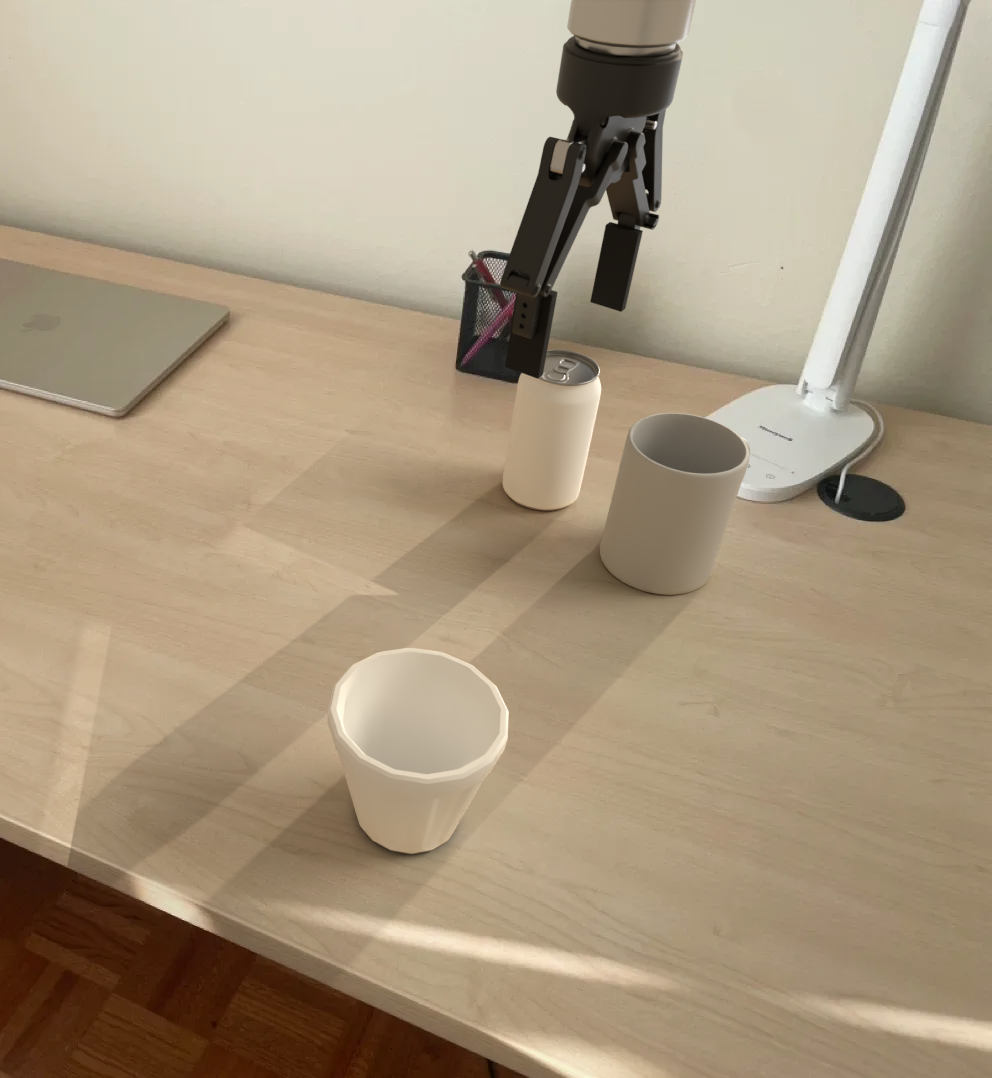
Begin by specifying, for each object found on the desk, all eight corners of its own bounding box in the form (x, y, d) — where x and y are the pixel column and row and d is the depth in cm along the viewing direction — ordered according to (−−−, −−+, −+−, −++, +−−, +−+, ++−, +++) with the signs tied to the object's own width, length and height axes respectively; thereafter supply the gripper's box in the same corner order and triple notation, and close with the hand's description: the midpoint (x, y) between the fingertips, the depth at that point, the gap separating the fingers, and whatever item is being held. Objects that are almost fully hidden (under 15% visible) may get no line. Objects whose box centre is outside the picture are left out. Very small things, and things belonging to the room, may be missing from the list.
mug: (659, 611, 78) (695, 490, 71) (575, 550, 84) (601, 432, 77) (764, 555, 83) (807, 437, 76) (678, 501, 89) (712, 387, 82)
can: (488, 496, 89) (507, 371, 82) (520, 460, 94) (541, 338, 86) (560, 522, 87) (587, 395, 79) (590, 484, 91) (618, 360, 83)
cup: (502, 886, 60) (525, 782, 54) (326, 885, 60) (331, 781, 54) (476, 749, 68) (494, 645, 62) (321, 749, 68) (325, 645, 62)
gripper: (651, -3, 77) (596, 269, 91) (471, 72, 62) (437, 384, 76) (753, 12, 74) (681, 294, 87) (588, 96, 59) (531, 420, 72)
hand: (567, 337), depth 81 cm, fingers open, 13 cm apart
